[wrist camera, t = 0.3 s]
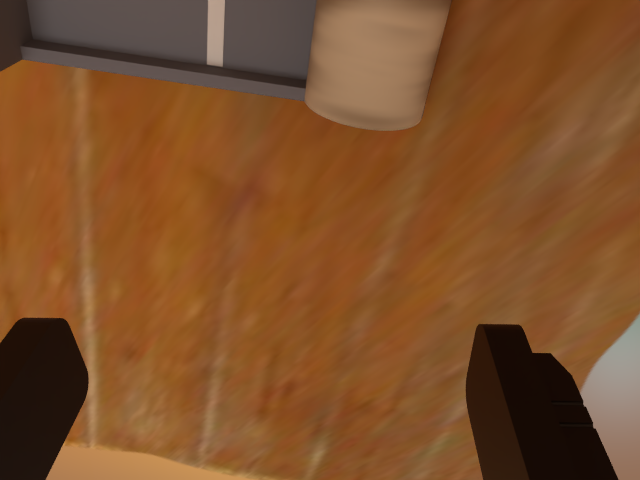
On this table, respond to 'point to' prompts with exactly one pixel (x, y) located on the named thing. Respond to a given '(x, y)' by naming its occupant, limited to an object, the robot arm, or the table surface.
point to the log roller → (374, 60)
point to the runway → (169, 40)
